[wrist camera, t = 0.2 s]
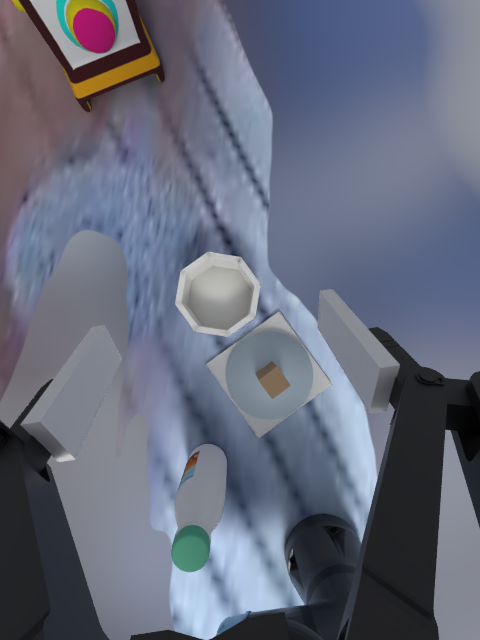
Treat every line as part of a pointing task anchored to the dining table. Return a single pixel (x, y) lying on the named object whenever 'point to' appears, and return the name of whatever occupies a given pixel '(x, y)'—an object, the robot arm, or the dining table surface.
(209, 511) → the milk bottle
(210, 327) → the bowl
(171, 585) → the dining table surface
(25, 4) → the decorative lantern
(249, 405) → the lid
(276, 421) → the mat
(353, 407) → the dining table surface
